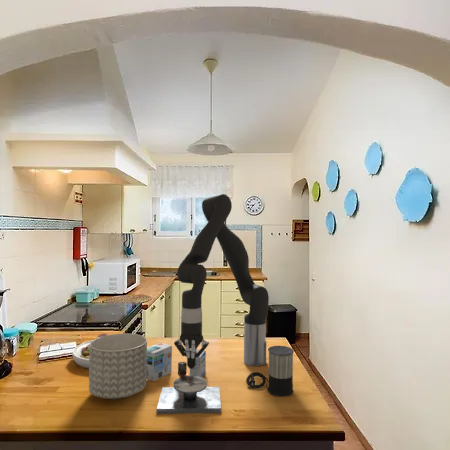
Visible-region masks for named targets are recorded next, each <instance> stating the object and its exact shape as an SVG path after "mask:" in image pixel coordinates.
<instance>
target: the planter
mask: <svg viewBox="0 0 450 450" xmlns="http://www.w3.org/2000/svg"><path fill="white" fill-rule="evenodd" d="M147 339H148V338H147V337H145V336H144V335H141V334H137V333H127V332H126V333H112V334H107V335H106V336H102V337H99V338H97V337H96V338H94V339H92V340H93V341H91V340H90V341H91V343H90V351H89V368H88V370H89V371H88V391H89V393H90V394H91V395H92V396H94V397H97V398H100V399H107V400H113V401H114V400H123V399H126V398H128V397H131V396H133V395H136V394H137V393H138V394H139V393H140V392H141V391H142V390H144V389H145V387H146V386H147V381H148V379H147V348H148V340H147Z"/></svg>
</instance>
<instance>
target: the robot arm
mask: <svg viewBox="0 0 450 450" xmlns="http://www.w3.org/2000/svg"><path fill="white" fill-rule="evenodd" d="M231 200H232V199H230V197H229V196H228V195H227V194H224V193H219V194H216V195H215V194H214V195H211V196H209V197H206V198H204V199H203V201H202V202H201V209H202V213H203V215H204V218H205V219H206V221H207V223H206V225H204V226H203V228H202V229H201V231H199V233H198V234H197V236H196V237H195V240H194V241H193V243H192V247H191V249H190V251H189V252H188V254H187V255H186V256H185V258H184V259H183V260H182V262H180V264H179V266H178V268H177V270H176V276H177V279H178V281H179V282H181V283H182V284H183V283H184V284H190V285H191V284H192V288H191V289H186V290H184V291H182V294H181V311H180V312H181V313H180V335H179V338H178V339H176V340H175V341H174V343H173V344H174V346H175V347H176V348H177V350H178V352H179V353H180V355H181V356H182V357H186V363H187V368H188V369H189V370H190V369H193V368H194V367H195V365H196V357H199V356H200V355H201V354H202V352H203V351H206V349H207V348H208V346H209V345H210V342H209V341H206V340H205V339H204V336H203V309H202V295H203V291H204V287H205V285H206V279H207V273H208V272H207V269H206V267H205V266H204V265H202V263H203V264H204V263H205V262H207V261H208V259H209V256H210V254H211V252H212V251H211V250H212V248H213V245H214V243H215V241H216V239H217V241H218V243H219V245H220V246H219V247H220V248H221V250H222V253H223V255H224V257H225V260H226V262H227V265H228V266H229V268H230V271H231V272H232V275H233V276H234V280H235V281H236V285H237V287H238V291H239V295H240V297H241V299H242V301H243V302H244V303H245V304H246V305H248V306H249V313H246V314H245V315H244V317H243V318H244V322H243V331H244V332H243V363H244V364H245V365H247V366H250V367H261V366H265V365H267V340H266V337H267V336H266V335H267V334H266V331H267V329H266V328H267V327H266V325H267V318H268V314H269V303H270V302H269V300H270V297H269V292H268V290H267V288H265V287H264V286H262V285H258V284H256V283H255V282H254V279H253V278H252V275H251V273H250V268H249V266H250V265H249V263H250V257H249V255H248V252H247V249H246V247H245V245H244V242H243V241H242V240H241V238H240V237H239V236H238V235H237V234H236V233H234V232H233V231H232V230H231V229H230V228H229V227H228V226H227V225H226V224H225V222H226V221H227V219H228V218H229V216H230V214H231V212H232V208H233V207H232V206H233V204H232V201H231ZM200 344H201V345H200ZM199 346H201V347H200V349H198V348H199ZM197 350H199V352H197V353H196V351H197Z"/></svg>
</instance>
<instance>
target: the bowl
mask: <svg viewBox="0 0 450 450" xmlns="http://www.w3.org/2000/svg"><path fill="white" fill-rule="evenodd" d="M106 335H108V334H106V333H101V334H99V335H97V337H96V338H99V337H102V336H106ZM93 340H94V339H92V340H89V341H88V340H87V341H84V342H83V343H80V344H78V345H76V346H75V347H74V348H73V349H72V353H71V354H72V359H73V361H74V362H75V363H76V365H78V366H80V367H81V368H85V369H89V351H90V343H91V341H93Z"/></svg>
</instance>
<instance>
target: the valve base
mask: <svg viewBox="0 0 450 450" xmlns="http://www.w3.org/2000/svg"><path fill="white" fill-rule="evenodd" d="M221 404H222V403H221V391H220V386H207V387H206V388H205V389H204V390H203V391H200V392H197V393H181V392H178V391H176V390H175V389H174V386H173V387H172V386H171V387H169V386H167V387H165V386H163V387H162V388H161V392H160V395H159V399H158V403H157V407H156V414H157V415H161V414H163V415H164V414H166V415H167V414H168V415H169V414H172V415H173V414H175V415H176V414H221V413H222V405H221Z"/></svg>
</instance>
